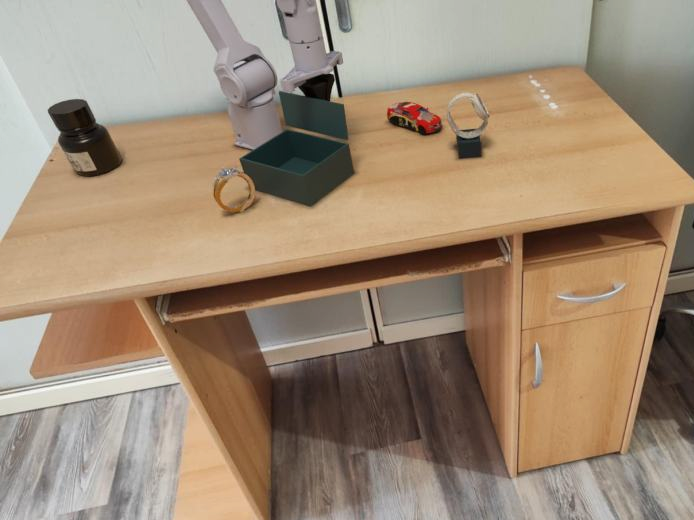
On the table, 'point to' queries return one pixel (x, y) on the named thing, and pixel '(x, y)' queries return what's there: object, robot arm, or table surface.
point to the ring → (226, 175)
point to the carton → (298, 166)
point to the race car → (413, 117)
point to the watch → (469, 137)
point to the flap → (314, 115)
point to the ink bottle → (84, 138)
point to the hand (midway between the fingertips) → (323, 117)
